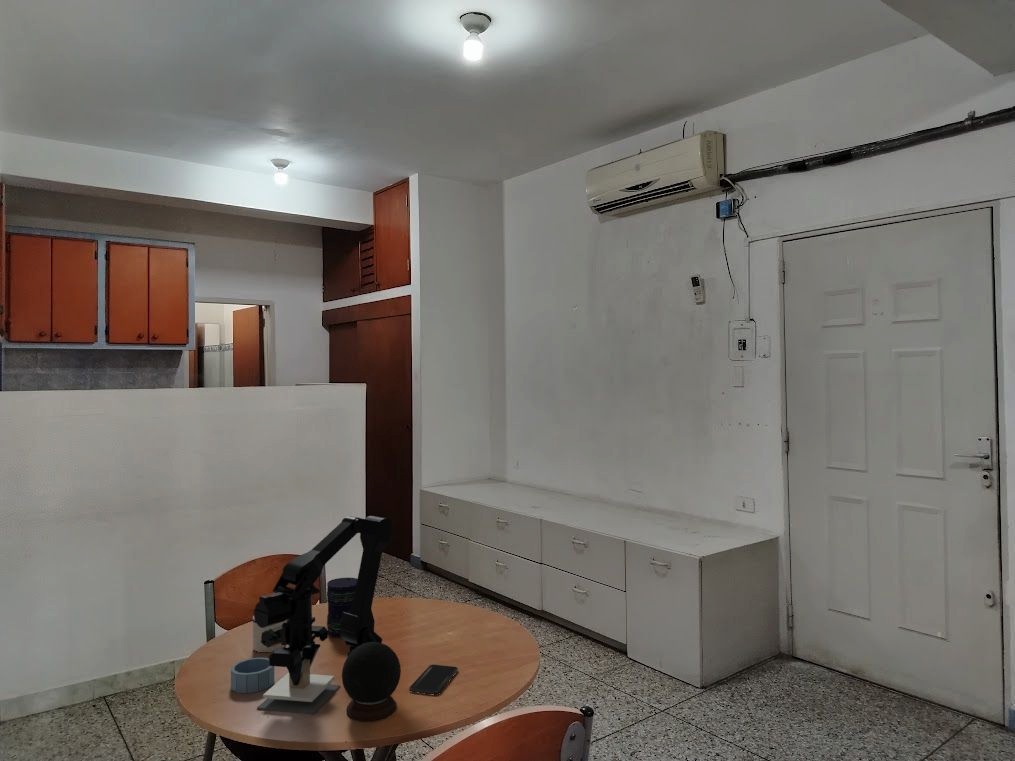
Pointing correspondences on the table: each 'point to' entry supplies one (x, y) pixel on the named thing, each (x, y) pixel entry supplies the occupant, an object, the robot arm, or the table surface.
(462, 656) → the table surface
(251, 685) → the bowl
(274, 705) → the mat
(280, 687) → the lid
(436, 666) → the phone
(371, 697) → the black ball on stand
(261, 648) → the teacup with lid
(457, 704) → the table surface
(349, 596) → the storage jar
